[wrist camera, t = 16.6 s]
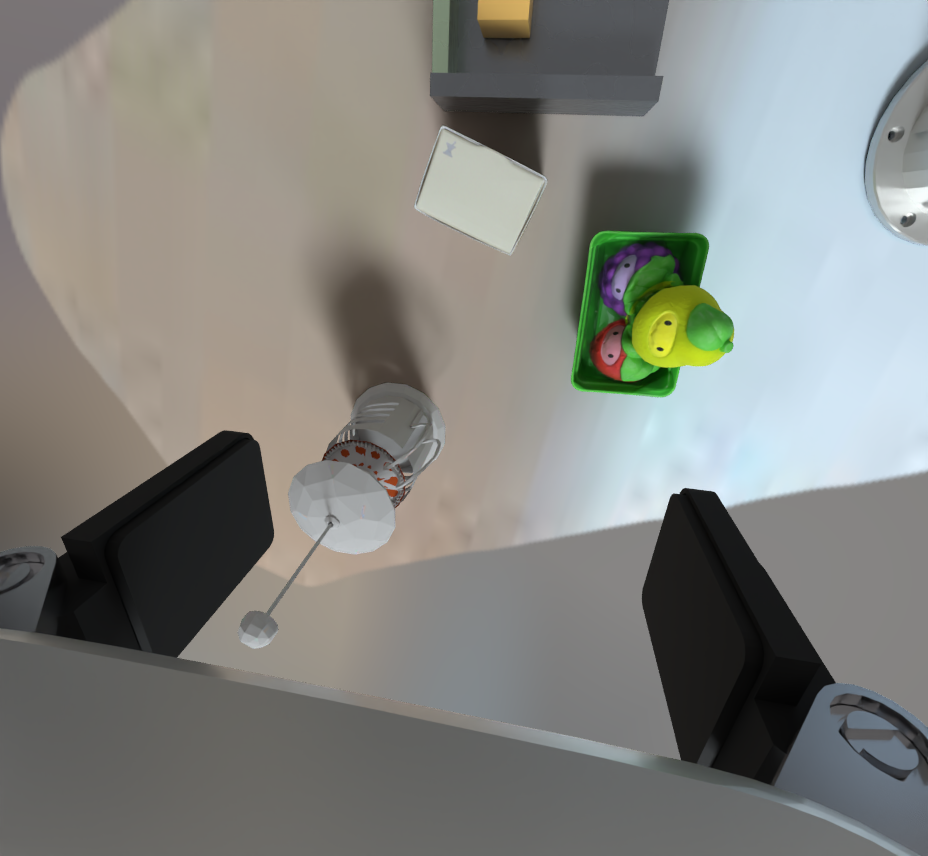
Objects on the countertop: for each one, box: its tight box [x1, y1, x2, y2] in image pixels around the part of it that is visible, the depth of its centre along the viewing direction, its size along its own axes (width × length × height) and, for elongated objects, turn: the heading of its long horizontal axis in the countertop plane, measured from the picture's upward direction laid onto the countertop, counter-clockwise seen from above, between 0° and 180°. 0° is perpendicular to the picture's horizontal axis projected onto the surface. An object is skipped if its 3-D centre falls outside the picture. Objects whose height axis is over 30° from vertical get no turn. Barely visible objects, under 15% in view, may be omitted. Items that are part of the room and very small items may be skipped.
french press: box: [238, 383, 445, 648], centre depth 33 cm, size 10×12×25 cm
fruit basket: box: [571, 231, 734, 397], centre depth 31 cm, size 11×9×11 cm
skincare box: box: [414, 125, 547, 255], centre depth 29 cm, size 6×4×12 cm
